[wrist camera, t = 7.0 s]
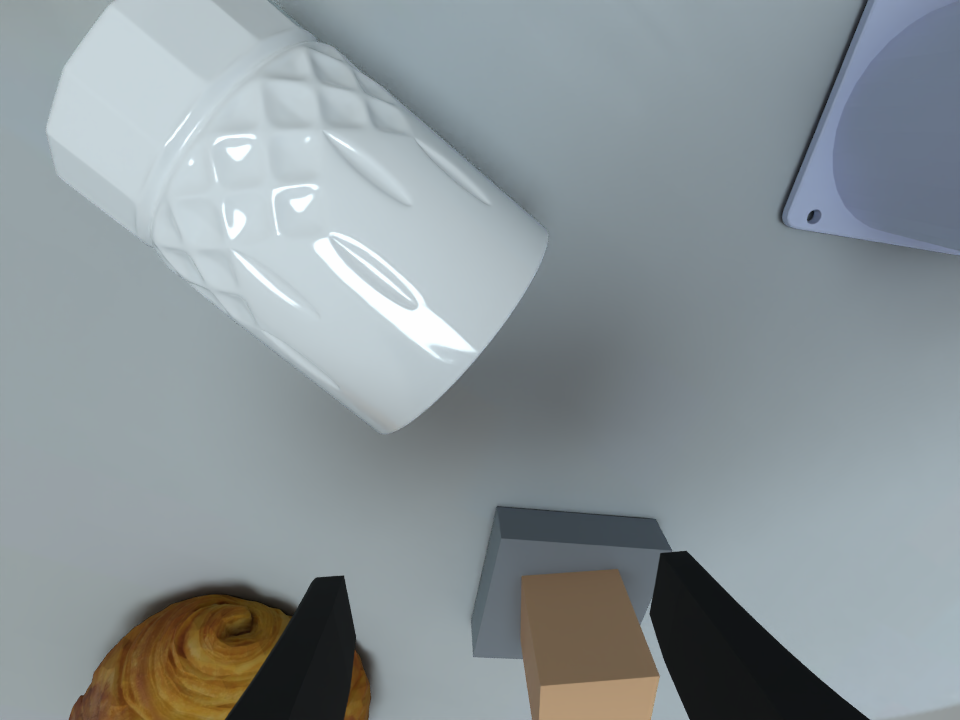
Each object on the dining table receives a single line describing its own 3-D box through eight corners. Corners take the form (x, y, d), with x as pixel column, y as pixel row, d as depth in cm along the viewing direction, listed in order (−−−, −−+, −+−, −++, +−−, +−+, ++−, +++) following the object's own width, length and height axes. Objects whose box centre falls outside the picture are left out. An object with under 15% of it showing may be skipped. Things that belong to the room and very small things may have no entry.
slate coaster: (655, 519, 25) (672, 550, 23) (612, 628, 28) (623, 663, 26) (496, 506, 24) (501, 538, 22) (471, 621, 27) (473, 657, 25)
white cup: (296, -85, 13) (569, 188, 16) (215, 140, 18) (431, 316, 21) (14, -62, 7) (512, 352, 10) (13, 253, 13) (344, 471, 15)
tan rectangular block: (618, 569, 23) (659, 676, 19) (609, 633, 25) (645, 744, 21) (521, 576, 23) (540, 686, 19) (520, 640, 25) (537, 754, 21)
